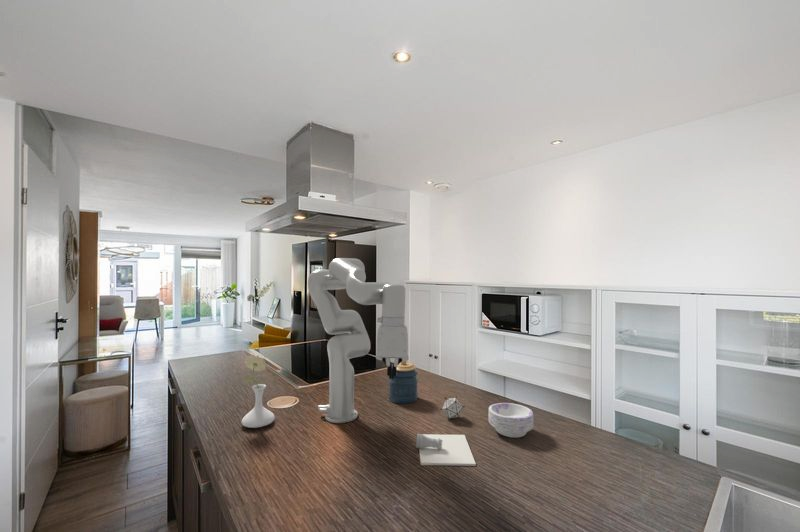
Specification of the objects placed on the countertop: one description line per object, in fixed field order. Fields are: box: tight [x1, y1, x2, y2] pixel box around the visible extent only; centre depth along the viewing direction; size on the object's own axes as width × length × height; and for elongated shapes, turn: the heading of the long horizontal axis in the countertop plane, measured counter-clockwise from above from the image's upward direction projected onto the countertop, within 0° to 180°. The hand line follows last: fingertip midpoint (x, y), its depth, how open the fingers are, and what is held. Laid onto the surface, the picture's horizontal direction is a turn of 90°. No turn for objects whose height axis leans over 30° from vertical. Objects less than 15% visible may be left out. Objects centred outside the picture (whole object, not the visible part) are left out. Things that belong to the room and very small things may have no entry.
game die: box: [439, 395, 466, 421], centre depth 134 cm, size 9×8×10 cm
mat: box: [418, 433, 477, 467], centre depth 110 cm, size 16×18×1 cm
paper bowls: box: [488, 402, 534, 439], centre depth 122 cm, size 15×15×8 cm
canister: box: [388, 361, 419, 405], centre depth 154 cm, size 13×13×18 cm
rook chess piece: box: [415, 432, 442, 450], centre depth 109 cm, size 4×4×8 cm
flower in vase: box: [241, 354, 276, 429], centre depth 127 cm, size 13×11×25 cm
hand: (391, 377), depth 113 cm, fingers closed
